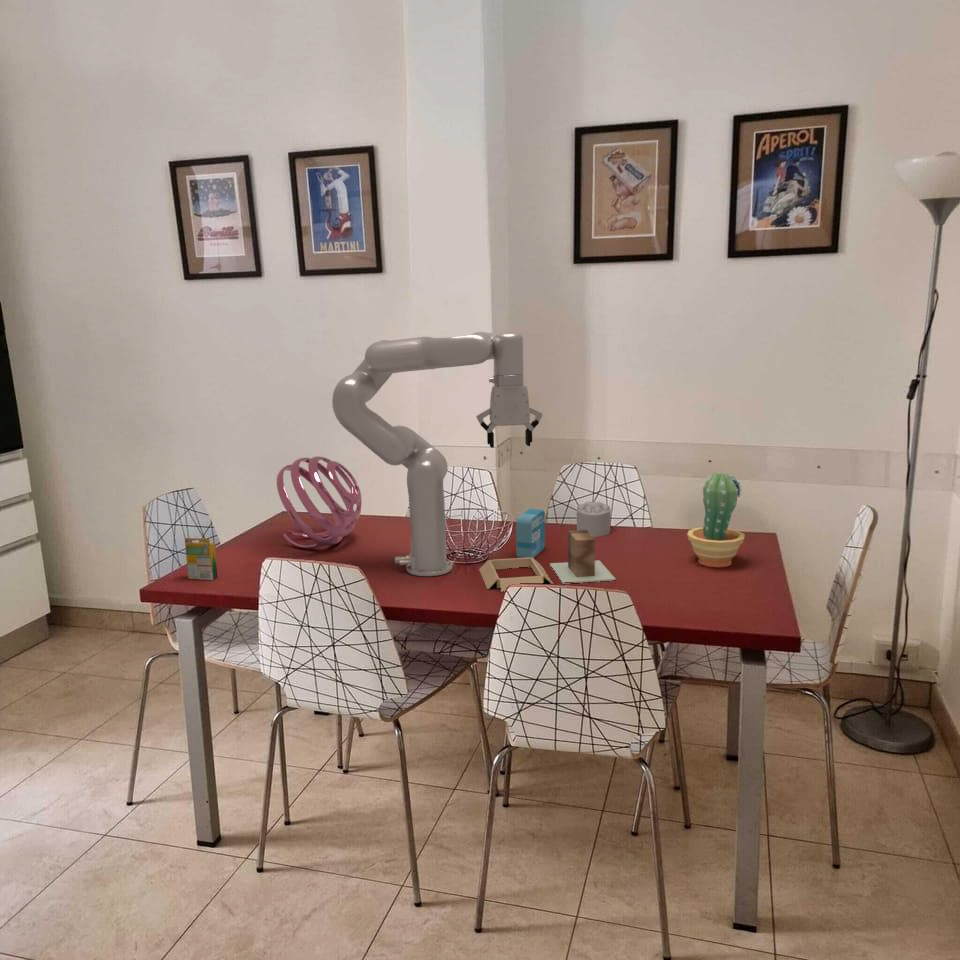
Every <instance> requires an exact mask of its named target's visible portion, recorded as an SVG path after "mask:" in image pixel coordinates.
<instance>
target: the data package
mask: <svg viewBox="0 0 960 960" xmlns="http://www.w3.org/2000/svg"><path fill="white" fill-rule="evenodd" d="M545 521H546V515H545V510H543V509H534V508H528V509H527V510H525V511H524V512H522V513H521V514H520V515H518V516H517V518H516V520H515V536H516V537H515V543H516V544H515V546H516V547H515V549H516V550H515V553H516V558H527V557H530V558H532V557H533V558H534V559H535V557H536V556H537V555H538V554H540V553H541V552H542V551H543V550H544V549H545V546H546V531H545V529H546V522H545Z"/></svg>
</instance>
